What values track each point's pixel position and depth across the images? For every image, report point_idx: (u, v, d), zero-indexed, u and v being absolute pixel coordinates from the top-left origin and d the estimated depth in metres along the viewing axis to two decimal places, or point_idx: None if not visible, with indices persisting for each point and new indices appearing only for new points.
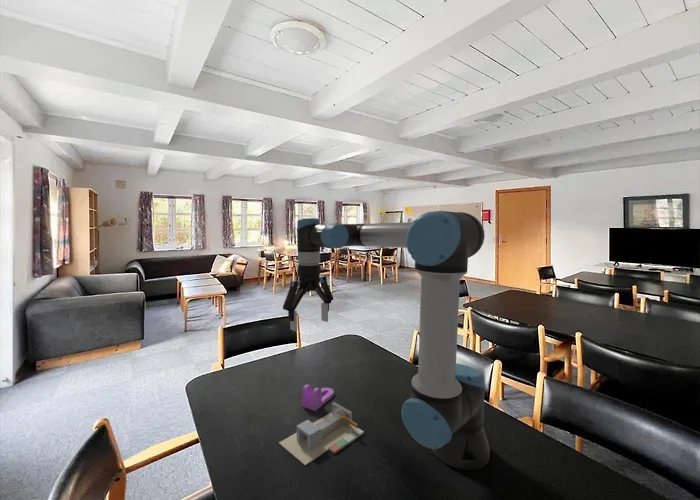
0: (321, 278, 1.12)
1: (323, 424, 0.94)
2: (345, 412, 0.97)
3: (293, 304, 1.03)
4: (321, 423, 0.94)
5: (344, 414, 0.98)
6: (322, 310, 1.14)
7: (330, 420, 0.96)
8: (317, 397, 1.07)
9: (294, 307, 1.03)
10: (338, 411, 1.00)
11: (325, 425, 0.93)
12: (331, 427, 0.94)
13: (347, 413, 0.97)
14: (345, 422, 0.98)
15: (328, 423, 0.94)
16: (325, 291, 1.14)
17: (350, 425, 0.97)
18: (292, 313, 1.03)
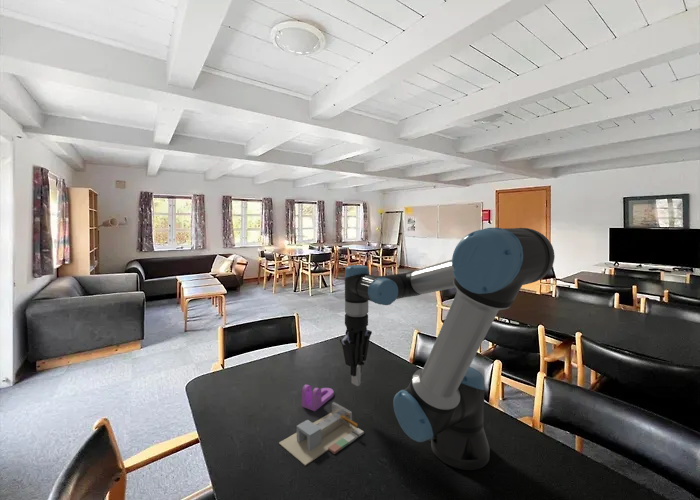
0: (367, 331, 1.06)
1: (323, 424, 0.94)
2: (345, 412, 0.97)
3: (353, 360, 1.02)
4: (321, 423, 0.94)
5: (344, 414, 0.98)
6: None
7: (330, 420, 0.96)
8: (317, 397, 1.07)
9: (356, 362, 1.02)
10: (338, 411, 1.00)
11: (325, 425, 0.93)
12: (331, 427, 0.94)
13: (347, 413, 0.97)
14: (345, 422, 0.98)
15: (328, 423, 0.94)
16: (362, 347, 1.06)
17: (350, 425, 0.97)
18: (355, 368, 1.02)
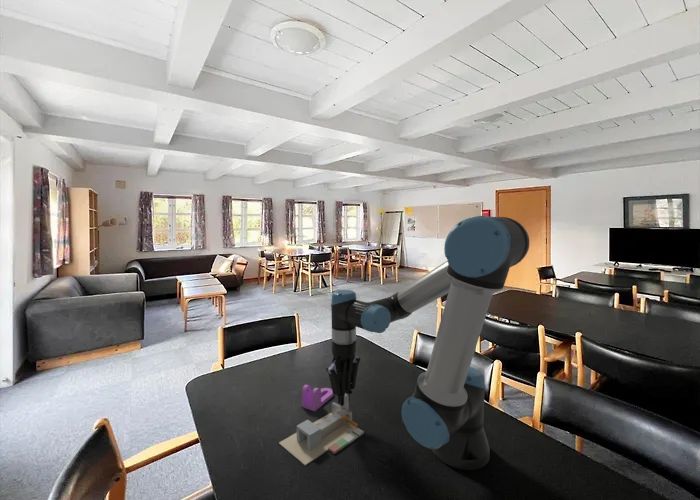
0: (355, 357, 1.02)
1: (323, 424, 0.94)
2: (345, 412, 0.97)
3: (341, 389, 0.98)
4: (321, 423, 0.94)
5: (344, 414, 0.98)
6: None
7: (330, 420, 0.96)
8: (317, 397, 1.07)
9: (343, 391, 0.98)
10: (338, 411, 1.00)
11: (325, 425, 0.93)
12: (331, 427, 0.94)
13: (347, 413, 0.97)
14: (345, 422, 0.98)
15: (328, 423, 0.94)
16: (350, 375, 1.02)
17: (350, 425, 0.97)
18: (342, 397, 0.99)
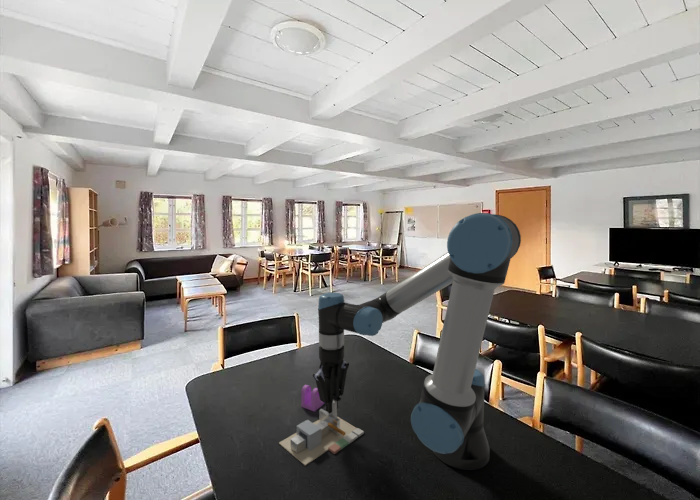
0: (344, 363, 0.98)
1: None
2: (333, 419, 0.94)
3: (328, 396, 0.94)
4: None
5: (332, 422, 0.94)
6: None
7: None
8: (316, 397, 1.07)
9: (331, 398, 0.94)
10: (326, 418, 0.96)
11: None
12: None
13: (335, 421, 0.93)
14: (333, 430, 0.94)
15: None
16: (339, 381, 0.98)
17: (338, 433, 0.93)
18: (330, 404, 0.95)
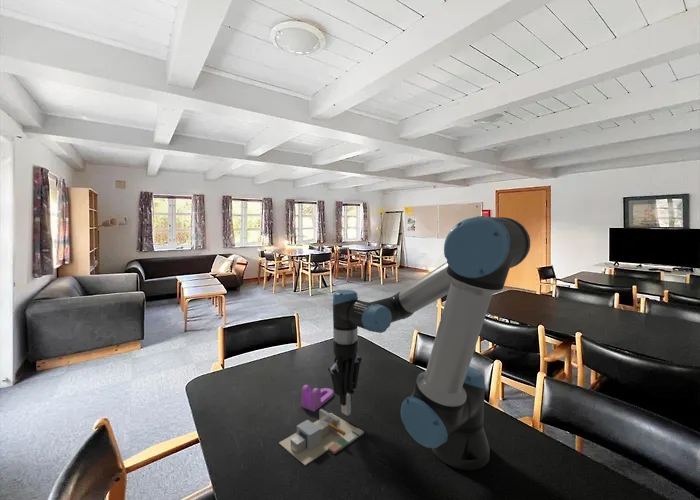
0: (356, 357, 1.03)
1: None
2: (333, 419, 0.94)
3: (343, 389, 0.98)
4: None
5: (332, 422, 0.94)
6: None
7: None
8: (316, 397, 1.07)
9: (345, 391, 0.98)
10: (326, 418, 0.96)
11: None
12: None
13: (335, 421, 0.93)
14: (333, 430, 0.94)
15: None
16: (352, 374, 1.02)
17: (338, 433, 0.93)
18: (344, 397, 0.99)
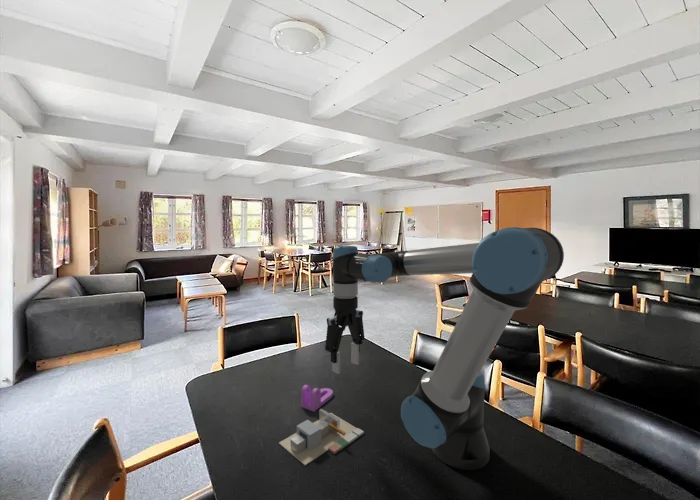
0: (357, 312, 1.02)
1: None
2: (333, 419, 0.94)
3: (335, 345, 0.95)
4: None
5: (332, 422, 0.94)
6: (352, 351, 1.03)
7: None
8: (316, 398, 1.06)
9: (337, 348, 0.95)
10: (326, 418, 0.96)
11: None
12: None
13: (335, 421, 0.93)
14: (333, 430, 0.94)
15: None
16: (357, 328, 1.03)
17: (338, 433, 0.93)
18: (335, 354, 0.95)
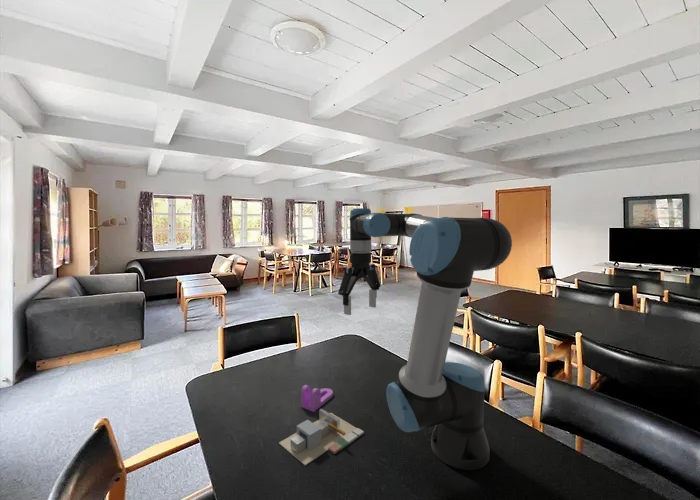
0: (370, 266, 1.17)
1: None
2: (333, 419, 0.94)
3: (348, 289, 1.09)
4: None
5: (332, 422, 0.94)
6: (370, 296, 1.20)
7: None
8: (316, 398, 1.06)
9: (349, 292, 1.09)
10: (326, 418, 0.96)
11: None
12: None
13: (335, 421, 0.93)
14: (333, 430, 0.94)
15: None
16: (373, 278, 1.20)
17: (338, 433, 0.93)
18: (347, 298, 1.09)
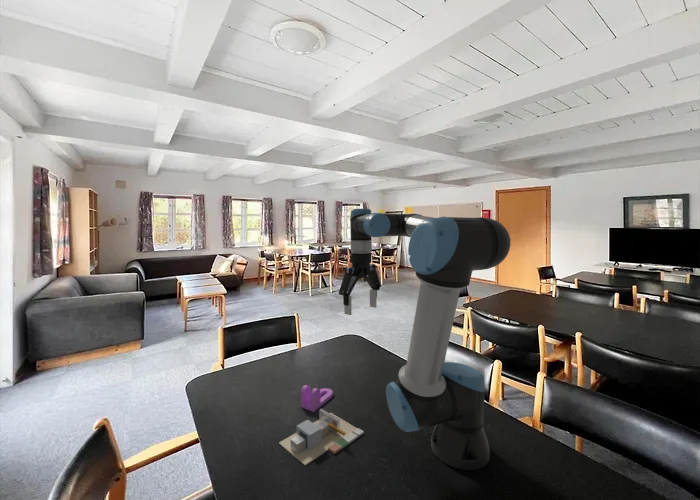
0: (371, 266, 1.18)
1: None
2: (333, 419, 0.94)
3: (348, 289, 1.09)
4: None
5: (332, 422, 0.94)
6: (371, 296, 1.20)
7: None
8: (316, 398, 1.06)
9: (349, 292, 1.09)
10: (326, 418, 0.96)
11: None
12: None
13: (335, 421, 0.93)
14: (333, 430, 0.94)
15: None
16: (373, 278, 1.20)
17: (338, 433, 0.93)
18: (347, 298, 1.09)
